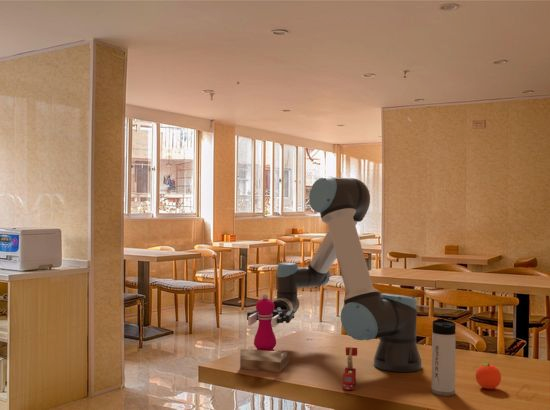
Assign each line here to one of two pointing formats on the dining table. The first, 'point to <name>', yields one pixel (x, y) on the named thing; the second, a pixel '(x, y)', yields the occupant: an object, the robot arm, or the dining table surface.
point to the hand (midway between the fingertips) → (261, 321)
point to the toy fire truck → (349, 378)
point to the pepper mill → (265, 325)
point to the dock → (263, 360)
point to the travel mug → (443, 357)
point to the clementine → (488, 376)
